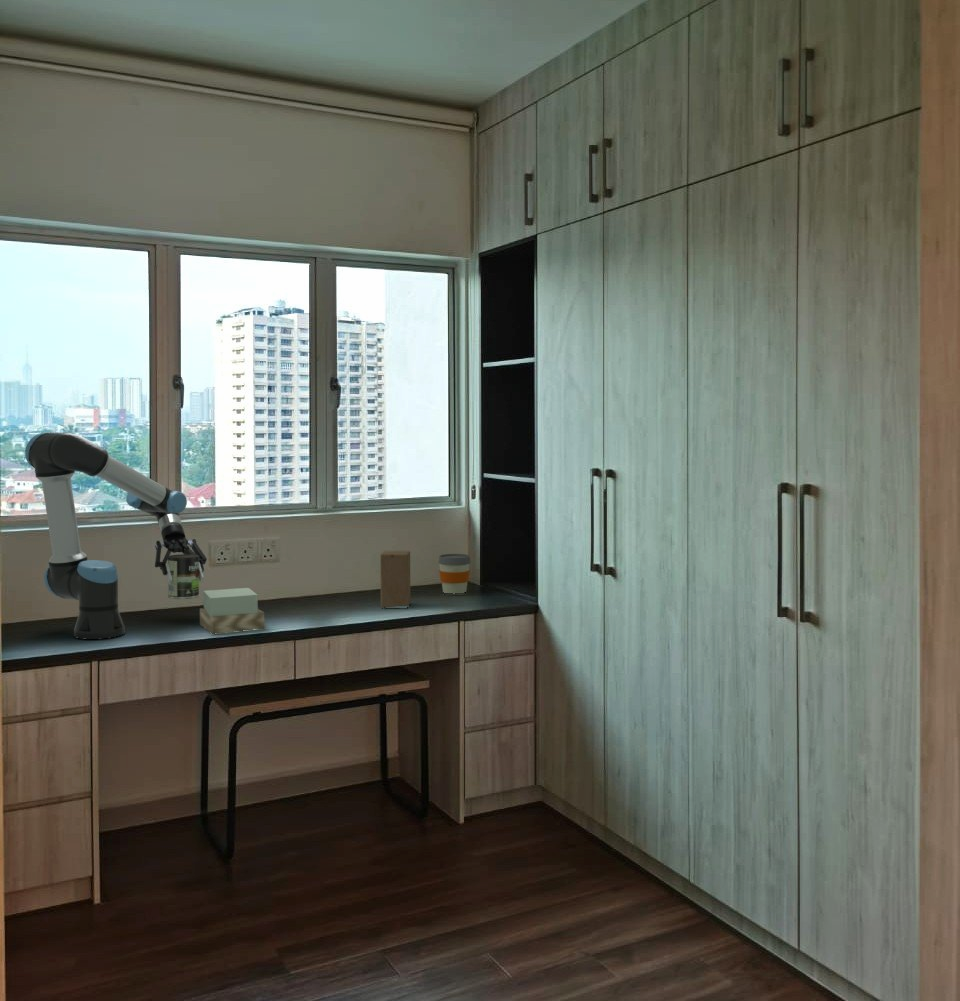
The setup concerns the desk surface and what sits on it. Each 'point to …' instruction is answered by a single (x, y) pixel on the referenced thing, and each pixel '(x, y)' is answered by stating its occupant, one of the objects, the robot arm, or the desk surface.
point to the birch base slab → (231, 622)
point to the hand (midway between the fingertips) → (186, 580)
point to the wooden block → (395, 578)
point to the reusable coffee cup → (454, 572)
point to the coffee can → (184, 576)
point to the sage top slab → (230, 602)
